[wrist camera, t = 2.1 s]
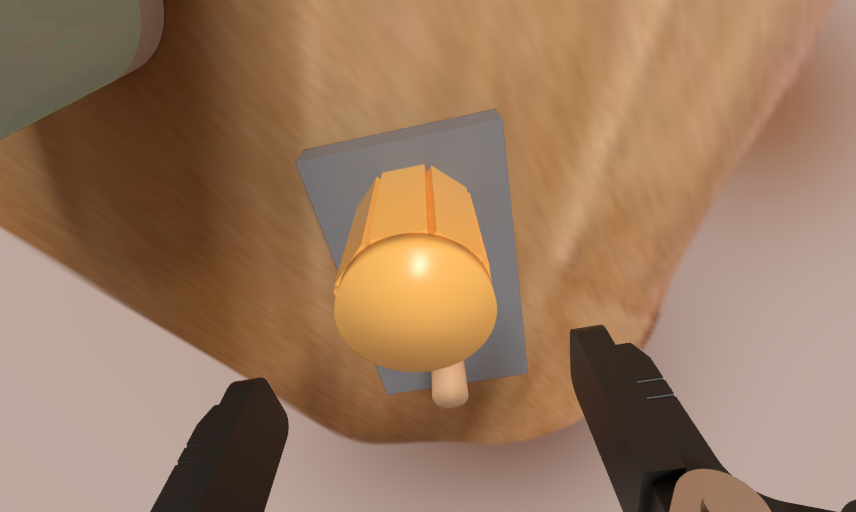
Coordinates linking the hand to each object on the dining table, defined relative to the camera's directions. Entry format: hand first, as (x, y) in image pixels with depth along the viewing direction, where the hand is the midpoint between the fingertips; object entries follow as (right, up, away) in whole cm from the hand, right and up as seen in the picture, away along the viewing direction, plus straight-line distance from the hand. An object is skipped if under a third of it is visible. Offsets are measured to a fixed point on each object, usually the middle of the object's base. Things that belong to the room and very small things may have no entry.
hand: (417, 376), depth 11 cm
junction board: (0, +3, +10) cm, 10 cm away
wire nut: (0, +5, +6) cm, 8 cm away
